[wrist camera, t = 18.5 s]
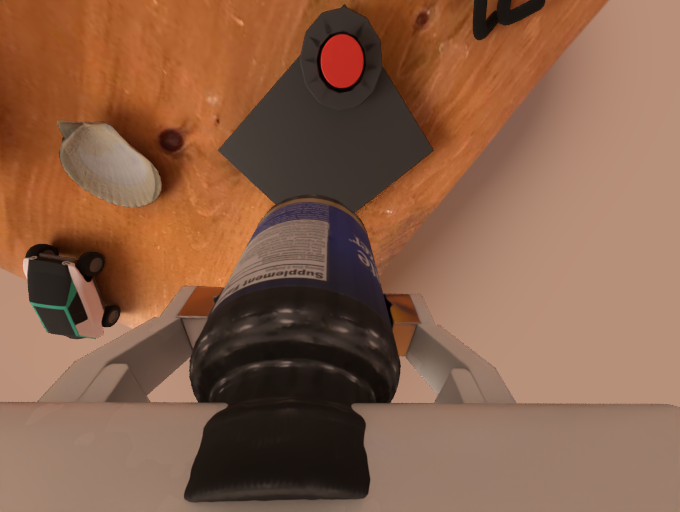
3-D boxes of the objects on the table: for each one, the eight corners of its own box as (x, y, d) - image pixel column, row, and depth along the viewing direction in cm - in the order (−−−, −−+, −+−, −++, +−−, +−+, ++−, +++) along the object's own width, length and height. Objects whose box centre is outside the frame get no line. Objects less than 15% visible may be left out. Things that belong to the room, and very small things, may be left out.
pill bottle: (374, 276, 16) (440, 548, 6) (278, 294, 16) (211, 570, 7) (357, 177, 12) (445, 450, 3) (237, 203, 13) (-2, 505, 4)
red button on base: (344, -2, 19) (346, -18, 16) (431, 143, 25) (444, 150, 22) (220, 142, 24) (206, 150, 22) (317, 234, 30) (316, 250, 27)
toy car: (76, 311, 36) (40, 343, 31) (44, 238, 29) (-7, 266, 25) (123, 317, 37) (94, 349, 32) (102, 248, 30) (63, 276, 26)
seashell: (112, 190, 28) (178, 205, 28) (86, 203, 26) (156, 221, 25) (66, 106, 23) (147, 123, 22) (28, 115, 20) (117, 133, 20)
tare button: (343, 26, 18) (345, 21, 17) (369, 66, 19) (372, 65, 18) (312, 61, 19) (311, 59, 18) (339, 97, 20) (339, 98, 19)
